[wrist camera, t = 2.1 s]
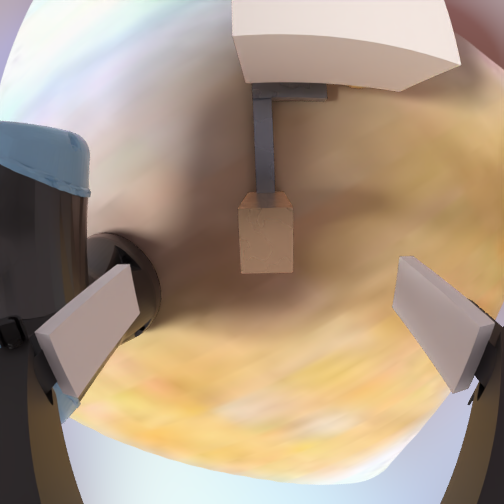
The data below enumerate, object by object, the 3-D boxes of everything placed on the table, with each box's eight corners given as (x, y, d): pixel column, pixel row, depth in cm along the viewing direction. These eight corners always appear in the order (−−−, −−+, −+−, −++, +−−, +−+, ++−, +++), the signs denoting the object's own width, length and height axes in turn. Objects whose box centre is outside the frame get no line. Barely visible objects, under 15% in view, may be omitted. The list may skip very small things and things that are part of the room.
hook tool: (326, 233, 33) (355, 270, 22) (249, 235, 34) (241, 273, 22) (323, 85, 28) (351, 49, 16) (243, 85, 28) (231, 46, 17)
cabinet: (383, 99, 28) (461, 65, 13) (248, 93, 29) (232, 36, 13) (369, 6, 24) (418, -58, 8) (244, -2, 24) (230, -83, 9)
